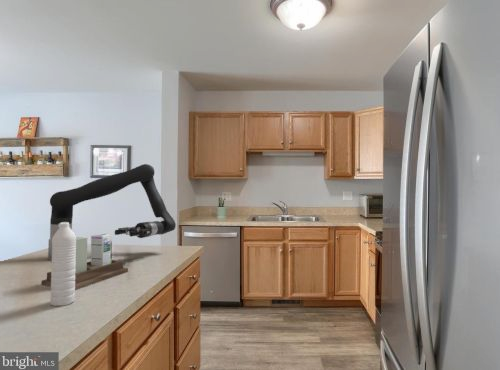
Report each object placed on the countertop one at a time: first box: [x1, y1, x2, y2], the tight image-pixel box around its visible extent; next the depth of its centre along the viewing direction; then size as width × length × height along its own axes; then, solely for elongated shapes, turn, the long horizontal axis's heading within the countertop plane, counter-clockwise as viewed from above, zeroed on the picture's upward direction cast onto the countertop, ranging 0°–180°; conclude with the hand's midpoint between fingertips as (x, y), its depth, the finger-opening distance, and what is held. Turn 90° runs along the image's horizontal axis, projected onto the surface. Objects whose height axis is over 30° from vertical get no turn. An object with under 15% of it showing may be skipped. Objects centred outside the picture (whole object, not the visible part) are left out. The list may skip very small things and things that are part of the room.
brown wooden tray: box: [40, 259, 129, 291], centre depth 121 cm, size 16×26×4 cm, turn 160°
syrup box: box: [90, 233, 113, 266], centre depth 127 cm, size 6×6×14 cm
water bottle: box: [49, 222, 77, 307], centre depth 94 cm, size 9×6×25 cm
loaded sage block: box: [75, 236, 88, 274], centre depth 115 cm, size 6×6×15 cm
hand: (122, 233), depth 138 cm, fingers open, 8 cm apart
